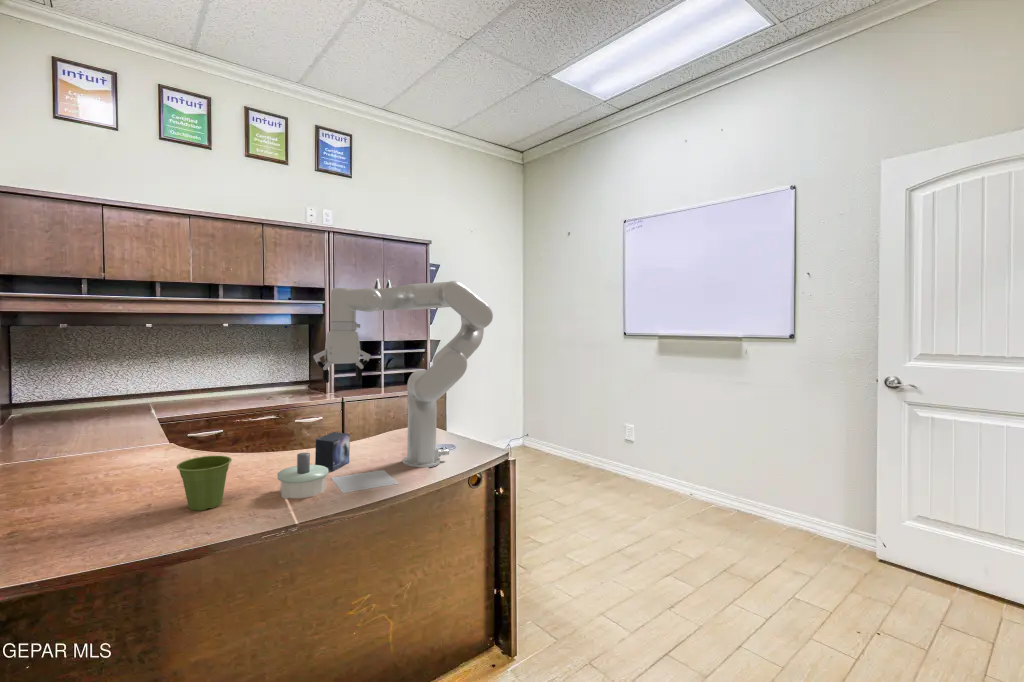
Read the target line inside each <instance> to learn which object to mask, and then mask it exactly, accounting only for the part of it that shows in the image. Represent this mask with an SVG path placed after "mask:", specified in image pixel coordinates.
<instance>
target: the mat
mask: <svg viewBox="0 0 1024 682" xmlns="http://www.w3.org/2000/svg"><path fill="white" fill-rule="evenodd" d="M330 479H331V480H332V482H333V483H334V485H336V487H337V488H338V489H339V490H340V492H341V494H346V493H352V492H359V491H365V490H371V489H376V488H381V487H387V486H388V487H389V486H395V485H399V482H398V481H397V480H396V479H394V478H393V477H392V476H391V475H390V474H389V473H388V472H386V470H384V469H381V470H373V471H367V472H361V473H354V474H347V475H342V476H334V477H330Z"/></svg>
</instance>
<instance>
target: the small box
mask: <svg viewBox="0 0 1024 682" xmlns="http://www.w3.org/2000/svg"><path fill="white" fill-rule="evenodd" d="M350 445H351V434H350V433H345V432H344V433H343V432H339V431H337V432H336V431H333V432H331V433H328V434H325V435H323V436H320V437H318V438H316V439H315V452H314V453H315V457H314V458H315V461H314V465H321V466H325V467H327V468H328V473H333V472H335V471H337V470H339V469H341V468H343V467H344V466H346V465H348V464H349V463H350Z"/></svg>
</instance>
